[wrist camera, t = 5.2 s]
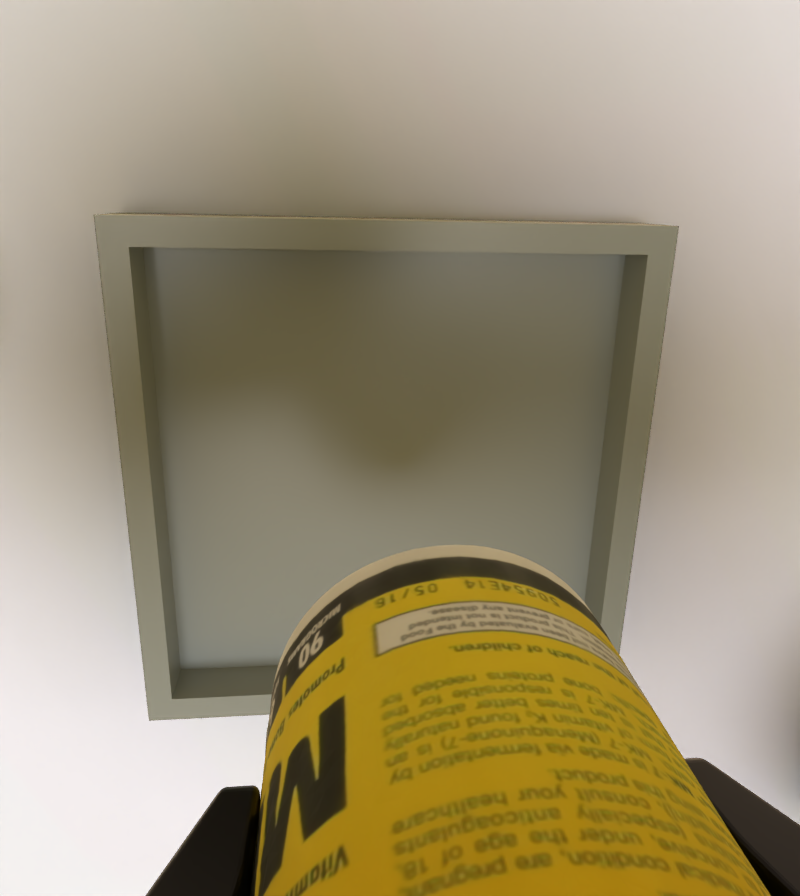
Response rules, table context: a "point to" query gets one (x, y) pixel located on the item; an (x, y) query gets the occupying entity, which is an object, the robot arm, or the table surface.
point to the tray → (367, 416)
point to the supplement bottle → (474, 747)
